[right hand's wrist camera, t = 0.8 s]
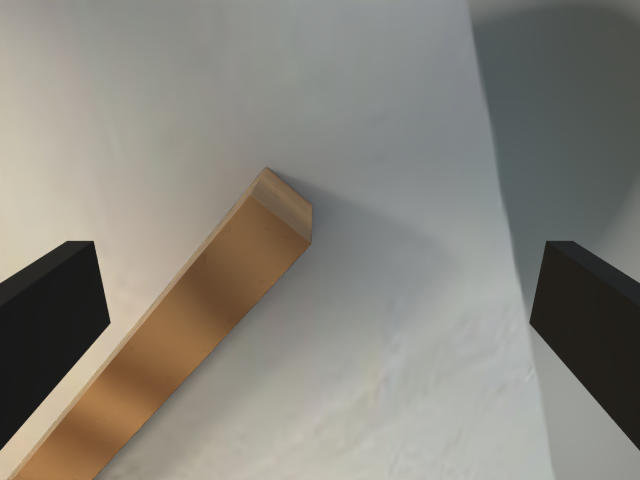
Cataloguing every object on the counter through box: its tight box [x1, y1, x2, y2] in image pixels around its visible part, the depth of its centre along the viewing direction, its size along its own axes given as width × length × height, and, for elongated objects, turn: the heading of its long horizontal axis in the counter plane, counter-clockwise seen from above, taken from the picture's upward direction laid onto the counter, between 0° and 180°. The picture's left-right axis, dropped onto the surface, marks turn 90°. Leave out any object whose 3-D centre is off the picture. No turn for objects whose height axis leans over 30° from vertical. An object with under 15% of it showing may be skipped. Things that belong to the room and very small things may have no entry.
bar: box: [7, 167, 313, 480], centre depth 37 cm, size 64×5×8 cm, turn 139°
